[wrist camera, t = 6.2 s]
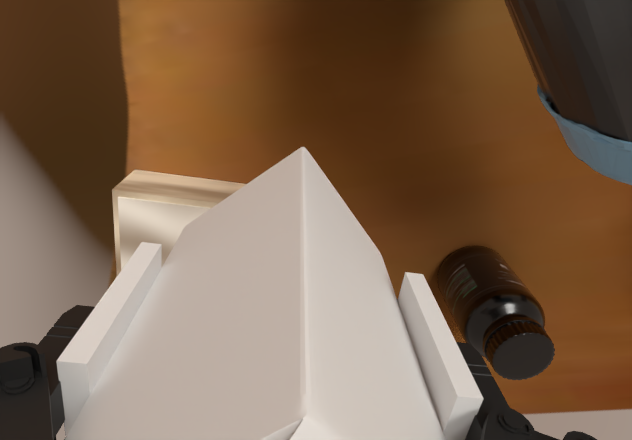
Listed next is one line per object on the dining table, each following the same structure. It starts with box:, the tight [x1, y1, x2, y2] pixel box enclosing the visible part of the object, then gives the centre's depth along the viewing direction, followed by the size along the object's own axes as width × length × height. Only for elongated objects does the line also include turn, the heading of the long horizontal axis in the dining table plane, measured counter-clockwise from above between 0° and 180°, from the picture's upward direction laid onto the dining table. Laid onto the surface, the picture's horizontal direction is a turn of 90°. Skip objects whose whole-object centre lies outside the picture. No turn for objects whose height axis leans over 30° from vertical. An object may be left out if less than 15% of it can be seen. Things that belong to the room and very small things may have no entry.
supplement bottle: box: [438, 246, 555, 380], centre depth 38 cm, size 7×7×12 cm
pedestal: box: [112, 170, 246, 276], centre depth 39 cm, size 11×11×5 cm
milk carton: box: [64, 147, 446, 440], centre depth 13 cm, size 7×7×19 cm
